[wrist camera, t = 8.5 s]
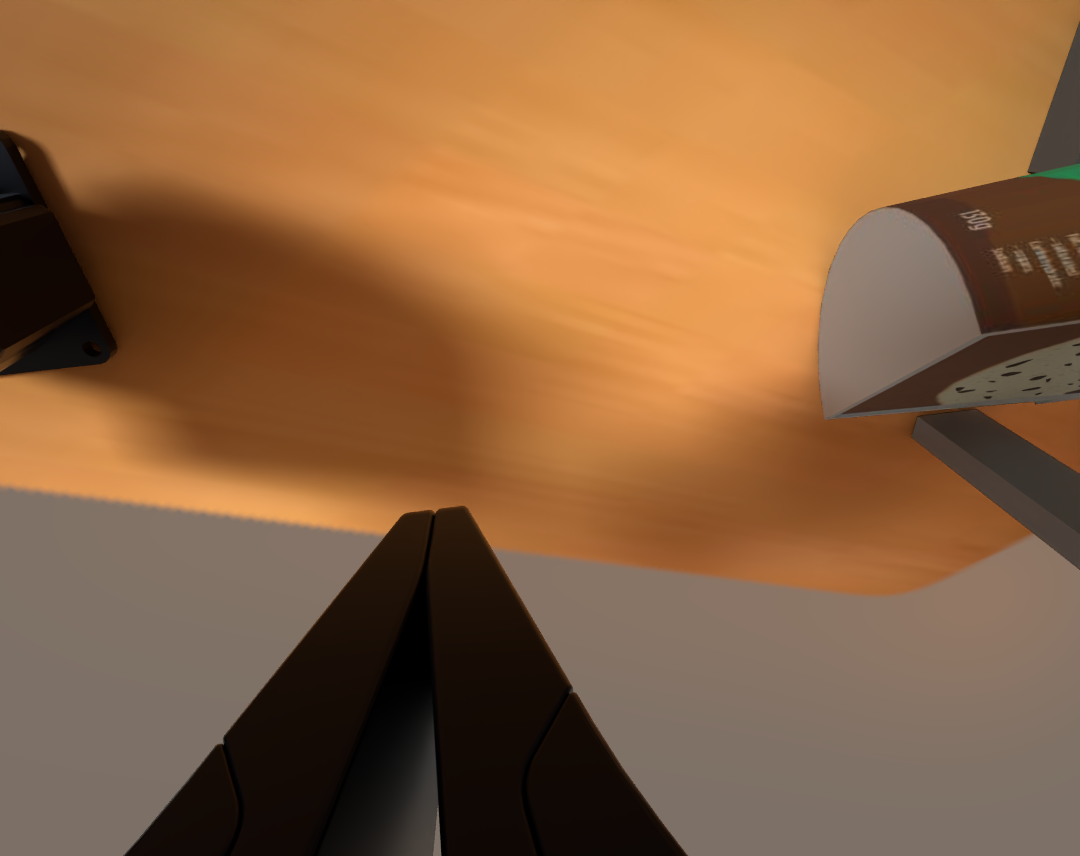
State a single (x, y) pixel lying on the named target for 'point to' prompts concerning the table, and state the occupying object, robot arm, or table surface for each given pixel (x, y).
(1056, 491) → the overhang shelf
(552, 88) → the table surface
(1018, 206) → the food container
